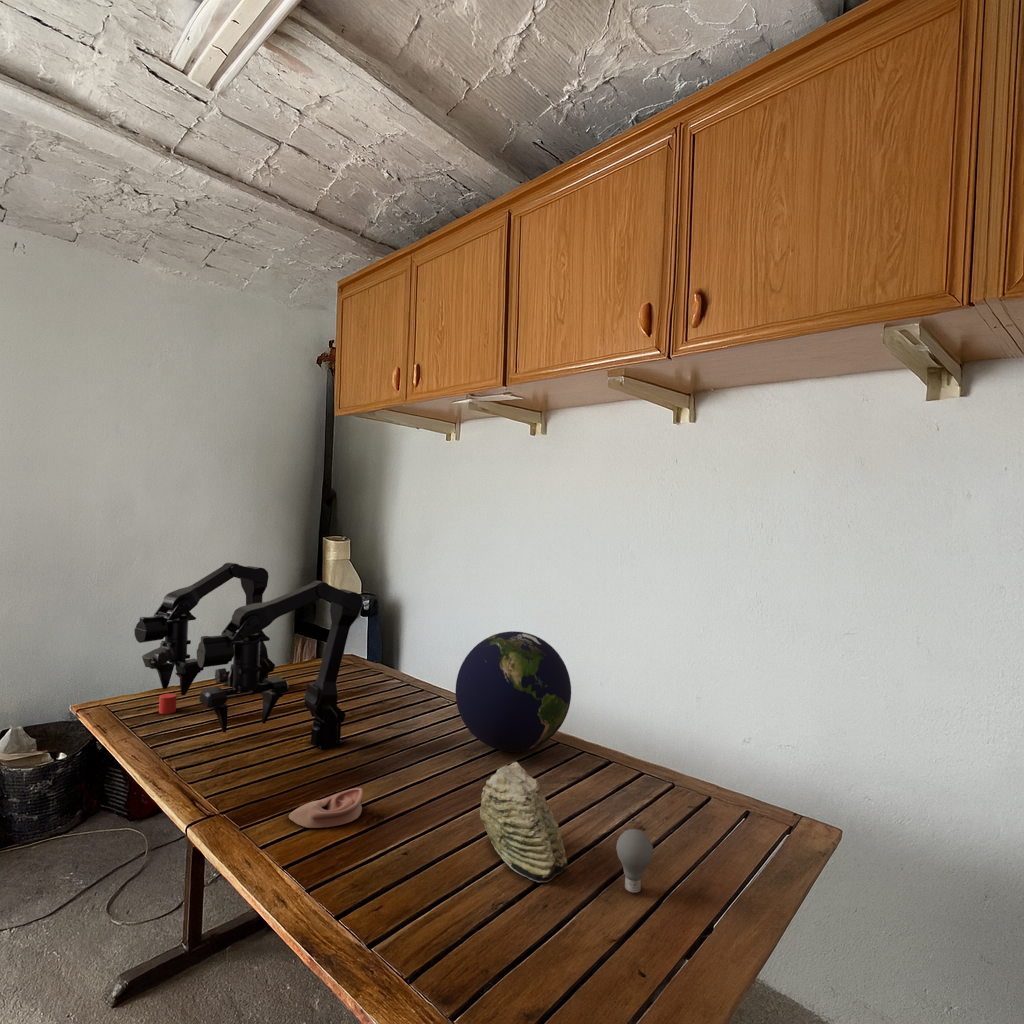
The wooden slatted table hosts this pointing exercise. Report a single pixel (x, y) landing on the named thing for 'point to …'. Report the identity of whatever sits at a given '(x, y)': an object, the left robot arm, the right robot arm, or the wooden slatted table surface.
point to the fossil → (522, 824)
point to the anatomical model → (330, 810)
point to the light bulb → (634, 857)
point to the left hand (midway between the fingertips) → (174, 691)
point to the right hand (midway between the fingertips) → (244, 727)
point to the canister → (167, 703)
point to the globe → (513, 691)
